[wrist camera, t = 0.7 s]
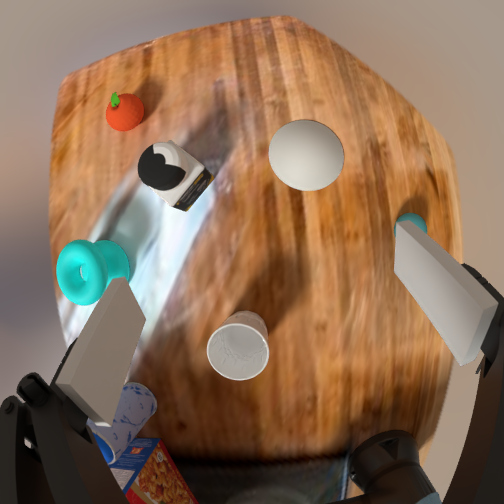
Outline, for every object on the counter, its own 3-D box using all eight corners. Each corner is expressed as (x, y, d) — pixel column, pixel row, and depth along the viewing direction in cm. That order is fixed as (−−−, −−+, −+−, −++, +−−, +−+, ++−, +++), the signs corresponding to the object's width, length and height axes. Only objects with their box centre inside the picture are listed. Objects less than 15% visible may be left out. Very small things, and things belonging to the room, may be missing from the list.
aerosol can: (128, 414, 47) (77, 470, 27) (116, 381, 47) (56, 431, 27) (162, 417, 46) (117, 481, 27) (151, 382, 46) (95, 441, 26)
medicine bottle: (186, 212, 45) (157, 202, 33) (156, 186, 45) (121, 169, 33) (215, 178, 45) (195, 156, 33) (184, 153, 45) (156, 126, 33)
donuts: (46, 255, 37) (87, 228, 36) (81, 253, 47) (121, 231, 46) (66, 315, 37) (110, 294, 36) (99, 303, 47) (141, 285, 46)
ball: (422, 228, 42) (439, 227, 36) (406, 255, 42) (421, 256, 37) (399, 207, 42) (414, 203, 37) (382, 234, 43) (396, 233, 37)
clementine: (112, 112, 46) (93, 97, 39) (142, 93, 45) (126, 75, 38) (122, 143, 46) (102, 130, 39) (155, 123, 45) (138, 107, 38)
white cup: (252, 297, 45) (246, 311, 35) (280, 337, 44) (281, 362, 34) (211, 322, 45) (194, 342, 35) (238, 361, 45) (229, 389, 35)
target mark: (357, 149, 43) (357, 149, 42) (316, 206, 43) (316, 206, 43) (296, 107, 43) (296, 107, 43) (253, 161, 44) (253, 160, 44)
